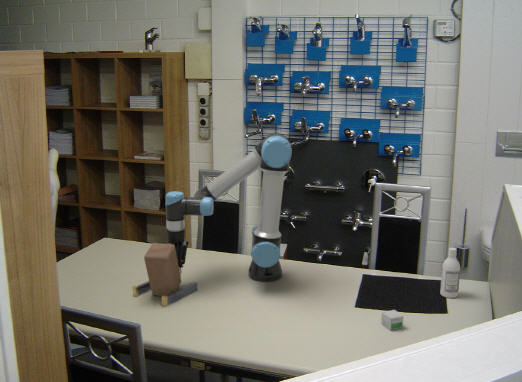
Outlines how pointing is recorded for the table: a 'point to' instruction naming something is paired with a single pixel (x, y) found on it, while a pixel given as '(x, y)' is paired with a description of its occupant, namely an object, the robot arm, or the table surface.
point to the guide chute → (170, 297)
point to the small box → (392, 320)
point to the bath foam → (450, 275)
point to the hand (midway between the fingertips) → (177, 281)
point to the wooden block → (162, 269)
